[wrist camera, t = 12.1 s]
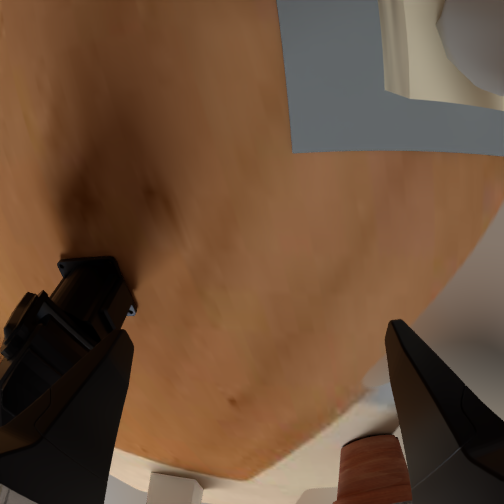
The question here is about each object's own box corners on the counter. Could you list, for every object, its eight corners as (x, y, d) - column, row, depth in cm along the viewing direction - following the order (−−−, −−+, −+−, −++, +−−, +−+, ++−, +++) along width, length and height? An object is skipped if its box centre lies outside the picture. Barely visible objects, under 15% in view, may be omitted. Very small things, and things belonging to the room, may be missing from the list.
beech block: (384, 90, 16) (409, 98, 13) (373, -29, 12) (395, -45, 9) (485, 101, 16) (520, 114, 12) (480, -5, 11) (514, -9, 8)
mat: (292, 152, 20) (292, 153, 19) (267, -55, 12) (268, -57, 12) (515, 156, 18) (517, 157, 17) (513, -13, 10) (516, -13, 10)
